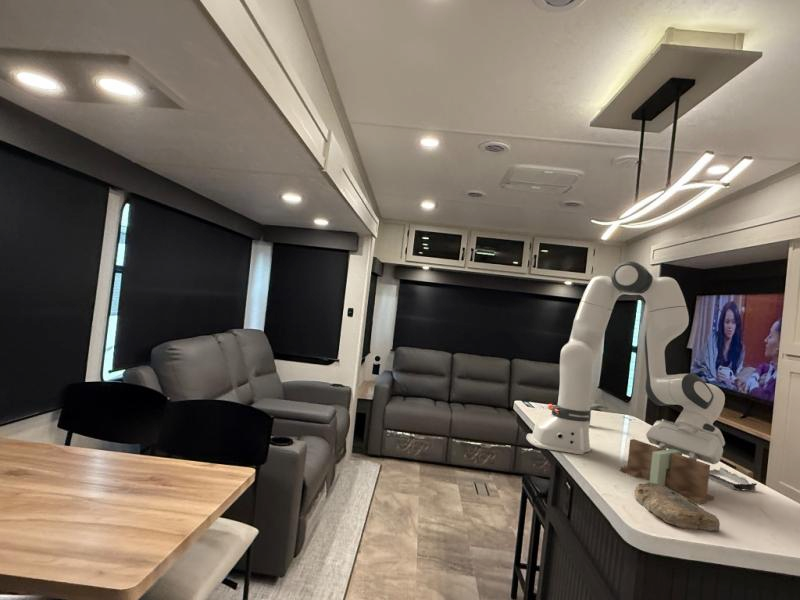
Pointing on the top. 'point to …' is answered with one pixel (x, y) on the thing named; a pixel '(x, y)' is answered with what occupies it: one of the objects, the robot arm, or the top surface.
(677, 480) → the walnut slotted board
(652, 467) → the green slotted plate
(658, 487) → the brown rock
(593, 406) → the inkwell
